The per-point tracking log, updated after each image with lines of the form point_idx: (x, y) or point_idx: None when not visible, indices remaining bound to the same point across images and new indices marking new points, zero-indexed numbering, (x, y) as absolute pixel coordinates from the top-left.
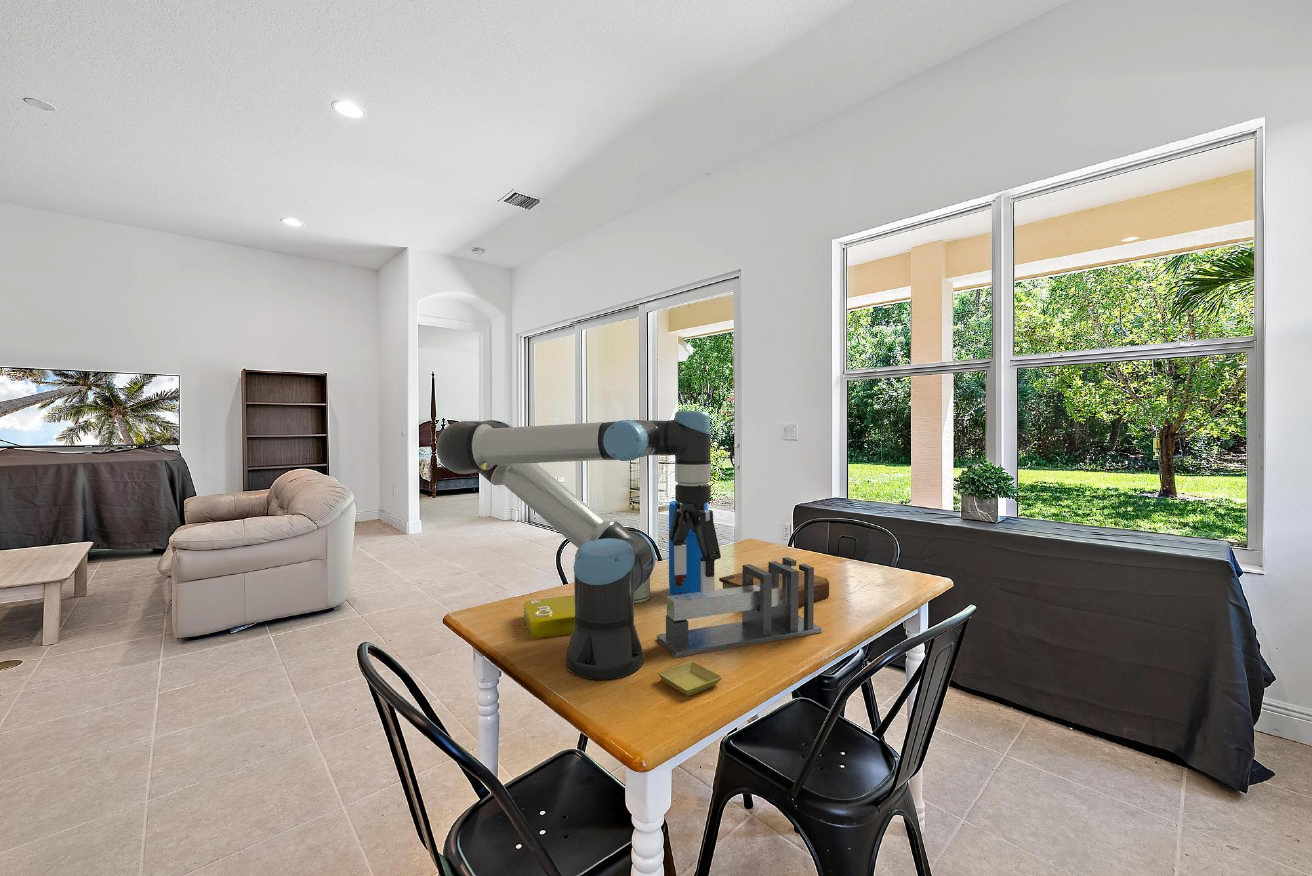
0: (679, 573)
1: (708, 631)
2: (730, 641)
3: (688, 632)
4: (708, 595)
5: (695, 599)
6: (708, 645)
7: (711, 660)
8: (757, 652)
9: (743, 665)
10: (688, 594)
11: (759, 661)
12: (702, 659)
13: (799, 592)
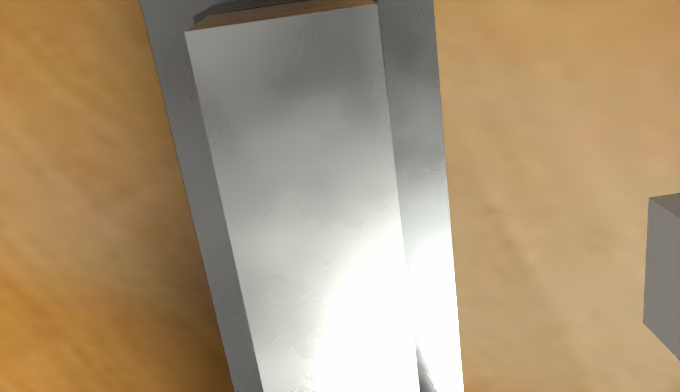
0: (654, 252)
1: None
2: (237, 311)
3: (407, 141)
4: (305, 365)
5: (233, 243)
6: (206, 194)
7: (84, 163)
8: (148, 385)
9: (14, 287)
10: (374, 220)
11: (51, 363)
12: (101, 122)
13: None
